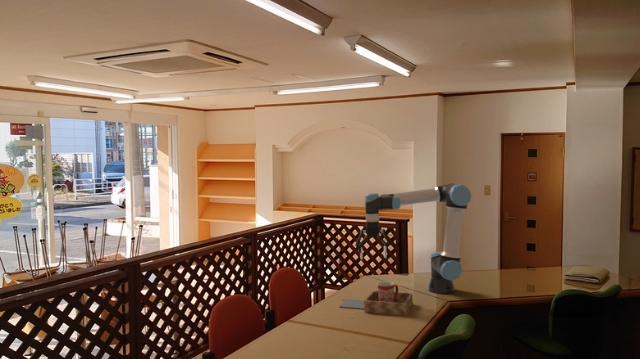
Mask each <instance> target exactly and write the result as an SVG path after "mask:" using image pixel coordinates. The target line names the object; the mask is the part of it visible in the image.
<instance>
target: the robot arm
mask: <svg viewBox="0 0 640 359" xmlns="http://www.w3.org/2000/svg"><path fill="white" fill-rule="evenodd" d="M471 199H472V193H471V190H470V189H469V188H468V186H465V185H463V184H462V183H461V184H460V183H453V182H452V183H447V184H443V185H437V186H434V187H433V188H428V189H427V188H425V189H420V190H410V191H404V192H403V191H402V192H397V193H387V194H386V193H384V194H380V195H379V193H375V192H374V193H373V192H372V193H371V192H370V193H366V194H365V201H364V203H365V206H364V207H365V230H364V229H360V231H359V236H358V237H357V240H356V242H355V245H354V246H355V247H356V248H358V251H357V252H358V254H359V256H360V260H362V261H363V260H364V259H363V256H364V254H363V245H364V244H365V243H366V241H367V240H368V239H369V238H373V239H374V238H378V239H379V240H380V241H381V242H382V244H383V258H385V259H387V258H388V257H387V253H388V252H389V247H390V246H392V242H391V240H390V238H389V237H388V235H387V234H386V229H385V228H381V229H380V211H387V210H389V211H390V210H391V211H395V210H399V209H400V208H401V206H408V205H415V204H423V203H430V202H432V203H433V202H437V203H445V207H446V209H447V213H446V221H445V222H446V223H445V229H444V230H445V232H444V238H443V239H444V240H443V248H442V251H436V252H432V253H431V254H430V272H431V273H430V280H429V284H428V291H429V292H431V293H435V294H442V295H443V294H444V295H445V294H452V293H454V292H455V290H456V289H455V284H454V282H453V281H454V280H456V279H458V278H460V277H461V275H462V273H463V266H462V264H461V255H460V254H459V252H460V244H461V243H460V242H461V236H462V235H461V234H462V227H463V226H462V225H463V218H464V212H465V211H466V210H467V208H468V204H469V203H470V201H471ZM380 233H381V234H382V235H383V237H381V235H380ZM364 234H365V236H363V235H364ZM363 237H364V238H363ZM362 238H363V239H362ZM383 238H384V239H385V240H384V239H383Z"/></svg>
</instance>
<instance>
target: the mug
mask: <svg viewBox="0 0 640 359" xmlns="http://www.w3.org/2000/svg"><path fill="white" fill-rule="evenodd" d="M376 285H377V291H378V296H379V301H381V302H394V301H395V299H396V297H397V294H398V292H399V286H398V285H397V284H395V283H394V282H391V281H380V282H377V283H376ZM394 289H395V290H394ZM394 292H395V294H394Z"/></svg>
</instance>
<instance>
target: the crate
mask: <svg viewBox="0 0 640 359" xmlns="http://www.w3.org/2000/svg"><path fill="white" fill-rule="evenodd" d="M394 294H395V291H394ZM413 298H414V297H413V292H401V291H400V292H399V291H398V294H397V297H396V299H395V301H394V302H381V301H379V296H378V290H372V291H371V292H370V293H369V295H367V297H366V298H365V299H364V309H363V312H364V313H371V314H381V315H382V314H384V315H392V316H393V315H396V316H405V317H406V316H407V315H408V313H409V311H410V309H411V308H412V306H413V303H414V299H413Z"/></svg>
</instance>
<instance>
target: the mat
mask: <svg viewBox="0 0 640 359" xmlns="http://www.w3.org/2000/svg"><path fill="white" fill-rule="evenodd" d="M364 300H365V299H364ZM364 300H363V299H352V298H351V299H350V298H347V299H345V301H344V302H342V303H341V304H340V305H339V308H341V309H342V308H343V309H352V310H353V309H355V310H364Z"/></svg>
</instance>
